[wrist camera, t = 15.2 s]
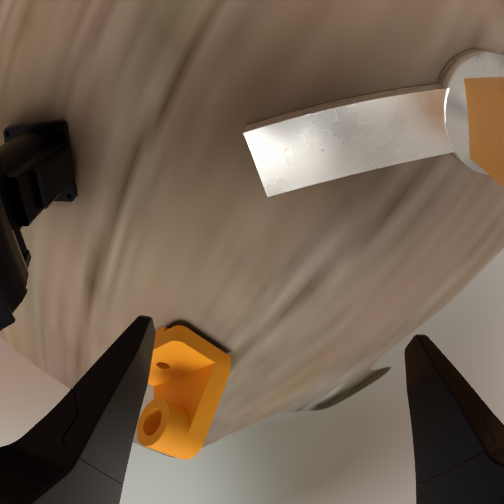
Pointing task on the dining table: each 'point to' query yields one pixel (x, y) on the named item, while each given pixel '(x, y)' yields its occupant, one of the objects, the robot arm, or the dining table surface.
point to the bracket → (182, 392)
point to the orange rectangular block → (486, 124)
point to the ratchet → (370, 129)
